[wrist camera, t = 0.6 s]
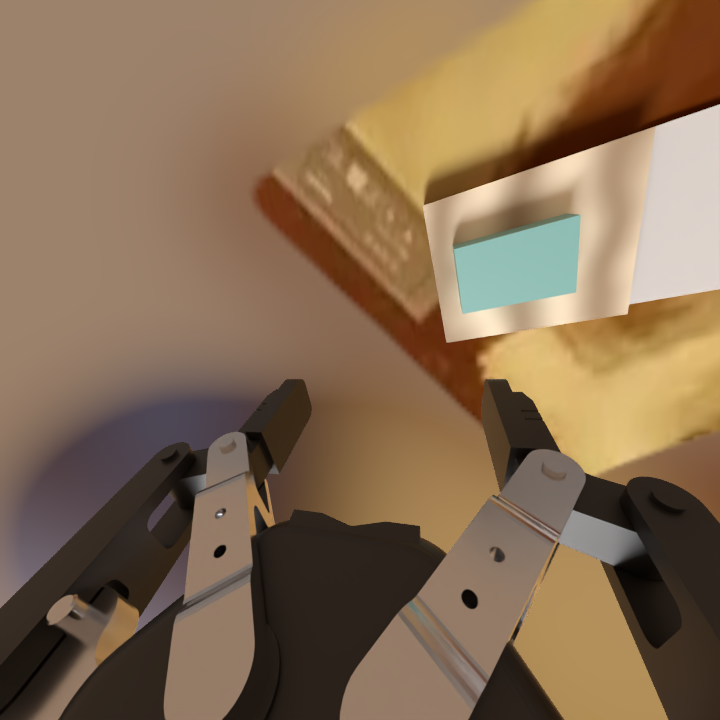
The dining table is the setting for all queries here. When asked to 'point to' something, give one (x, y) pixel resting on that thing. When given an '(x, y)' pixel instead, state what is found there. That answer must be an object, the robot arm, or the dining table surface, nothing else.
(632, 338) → the dining table surface
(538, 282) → the teal rectangular block
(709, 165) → the mat
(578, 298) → the cream flat block
